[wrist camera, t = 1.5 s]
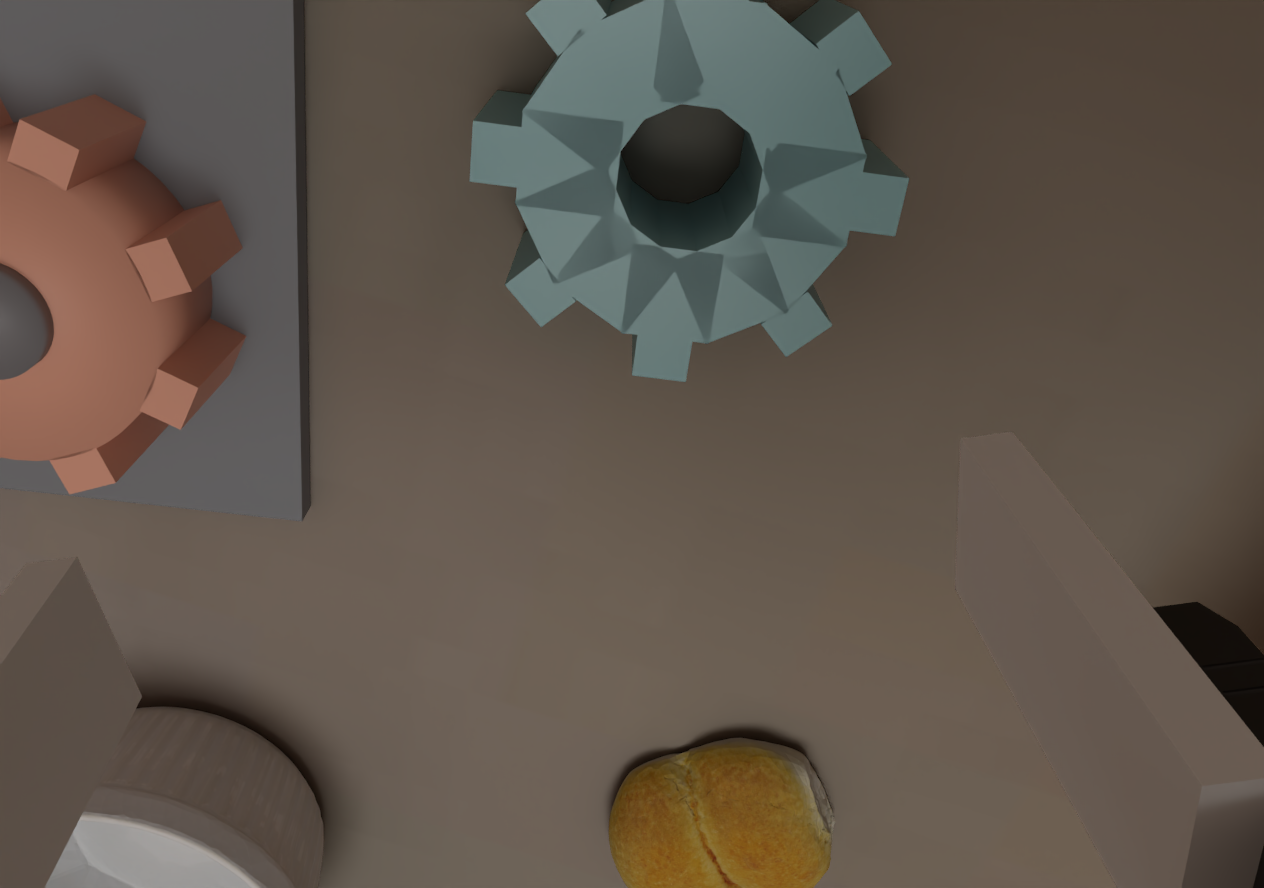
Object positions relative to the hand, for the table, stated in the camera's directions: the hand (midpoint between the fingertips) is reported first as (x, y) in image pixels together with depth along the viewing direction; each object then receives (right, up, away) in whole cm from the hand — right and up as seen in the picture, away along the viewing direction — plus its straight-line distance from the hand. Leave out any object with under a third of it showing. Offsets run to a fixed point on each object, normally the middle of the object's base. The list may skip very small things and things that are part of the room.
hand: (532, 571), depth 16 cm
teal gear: (+3, +11, +15) cm, 19 cm away
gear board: (-15, +13, +14) cm, 24 cm away
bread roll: (+5, -13, +28) cm, 31 cm away
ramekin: (-17, -13, +28) cm, 35 cm away
